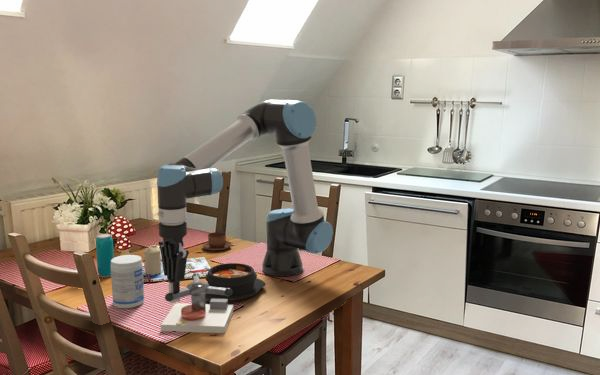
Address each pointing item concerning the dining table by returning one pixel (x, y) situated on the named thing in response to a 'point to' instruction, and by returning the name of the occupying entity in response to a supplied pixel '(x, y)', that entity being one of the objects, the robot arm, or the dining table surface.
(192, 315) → the capstan
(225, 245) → the cup and saucer
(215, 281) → the casserole
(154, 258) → the candle
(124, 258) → the supplement tub
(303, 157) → the robot arm
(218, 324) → the stand
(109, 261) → the beverage can
